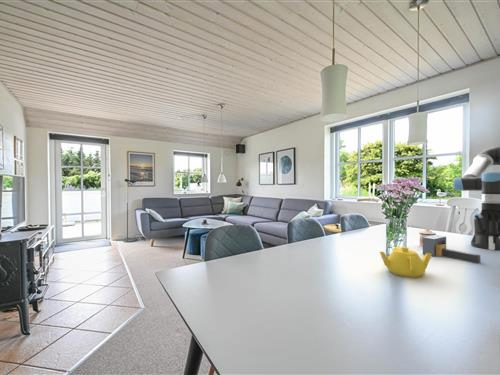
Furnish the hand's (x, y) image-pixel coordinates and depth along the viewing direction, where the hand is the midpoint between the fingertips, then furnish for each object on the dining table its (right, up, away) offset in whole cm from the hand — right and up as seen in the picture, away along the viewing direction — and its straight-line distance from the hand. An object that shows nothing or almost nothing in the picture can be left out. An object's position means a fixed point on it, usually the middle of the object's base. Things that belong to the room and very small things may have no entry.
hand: (491, 249), depth 124 cm
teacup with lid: (-2, -8, +39) cm, 40 cm away
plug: (-7, -8, +14) cm, 18 cm away
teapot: (-49, -9, -8) cm, 50 cm away
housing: (-12, -8, +23) cm, 27 cm away
